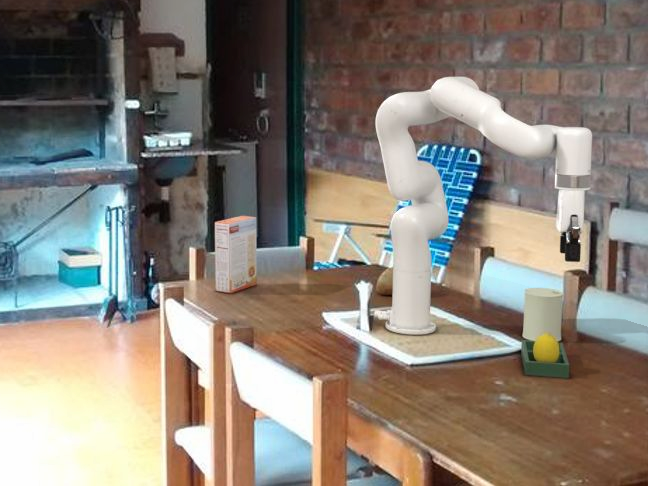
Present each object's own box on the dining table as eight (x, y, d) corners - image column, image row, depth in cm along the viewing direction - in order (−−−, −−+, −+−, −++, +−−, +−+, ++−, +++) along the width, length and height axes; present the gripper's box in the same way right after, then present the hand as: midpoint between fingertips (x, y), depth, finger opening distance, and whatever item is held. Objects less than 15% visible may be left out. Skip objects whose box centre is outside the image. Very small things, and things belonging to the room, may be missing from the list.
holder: (525, 375, 221) (525, 361, 221) (521, 352, 238) (521, 339, 237) (568, 378, 219) (569, 364, 218) (561, 355, 236) (562, 342, 235)
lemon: (558, 365, 226) (560, 331, 225) (558, 373, 221) (559, 337, 220) (532, 363, 228) (534, 328, 227) (531, 370, 222) (533, 335, 222)
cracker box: (241, 282, 308) (241, 214, 306) (257, 285, 305) (258, 216, 302) (213, 291, 297) (213, 220, 294) (230, 294, 293) (230, 222, 291)
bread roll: (431, 294, 294) (432, 267, 293) (387, 299, 288) (388, 271, 287) (413, 287, 303) (413, 261, 302) (369, 292, 297) (370, 265, 296)
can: (563, 343, 245) (565, 295, 243) (523, 341, 247) (525, 293, 245) (559, 333, 254) (561, 286, 252) (520, 331, 256) (522, 284, 254)
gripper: (551, 177, 236) (548, 249, 238) (559, 186, 220) (556, 264, 221) (584, 178, 235) (581, 250, 237) (595, 187, 218) (592, 265, 220)
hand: (569, 257), depth 229 cm, fingers open, 9 cm apart
